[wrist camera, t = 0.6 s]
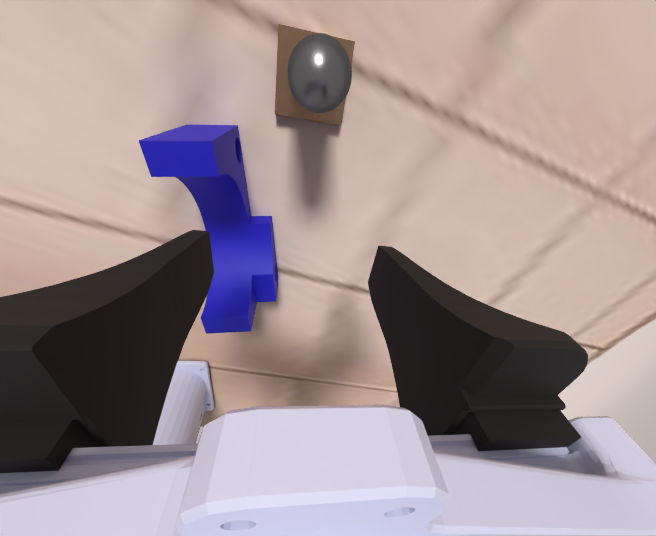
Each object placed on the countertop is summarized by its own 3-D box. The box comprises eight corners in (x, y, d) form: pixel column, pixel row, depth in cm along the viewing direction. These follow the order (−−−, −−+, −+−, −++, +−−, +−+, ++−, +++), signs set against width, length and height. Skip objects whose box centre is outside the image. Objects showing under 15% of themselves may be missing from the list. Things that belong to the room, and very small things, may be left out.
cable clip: (278, 278, 23) (272, 330, 18) (226, 280, 23) (206, 333, 18) (262, 125, 16) (246, 141, 12) (187, 124, 16) (138, 140, 11)
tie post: (339, 124, 17) (359, 142, 11) (275, 113, 16) (263, 126, 11) (352, 43, 14) (385, 16, 9) (279, 26, 14) (266, -13, 8)
